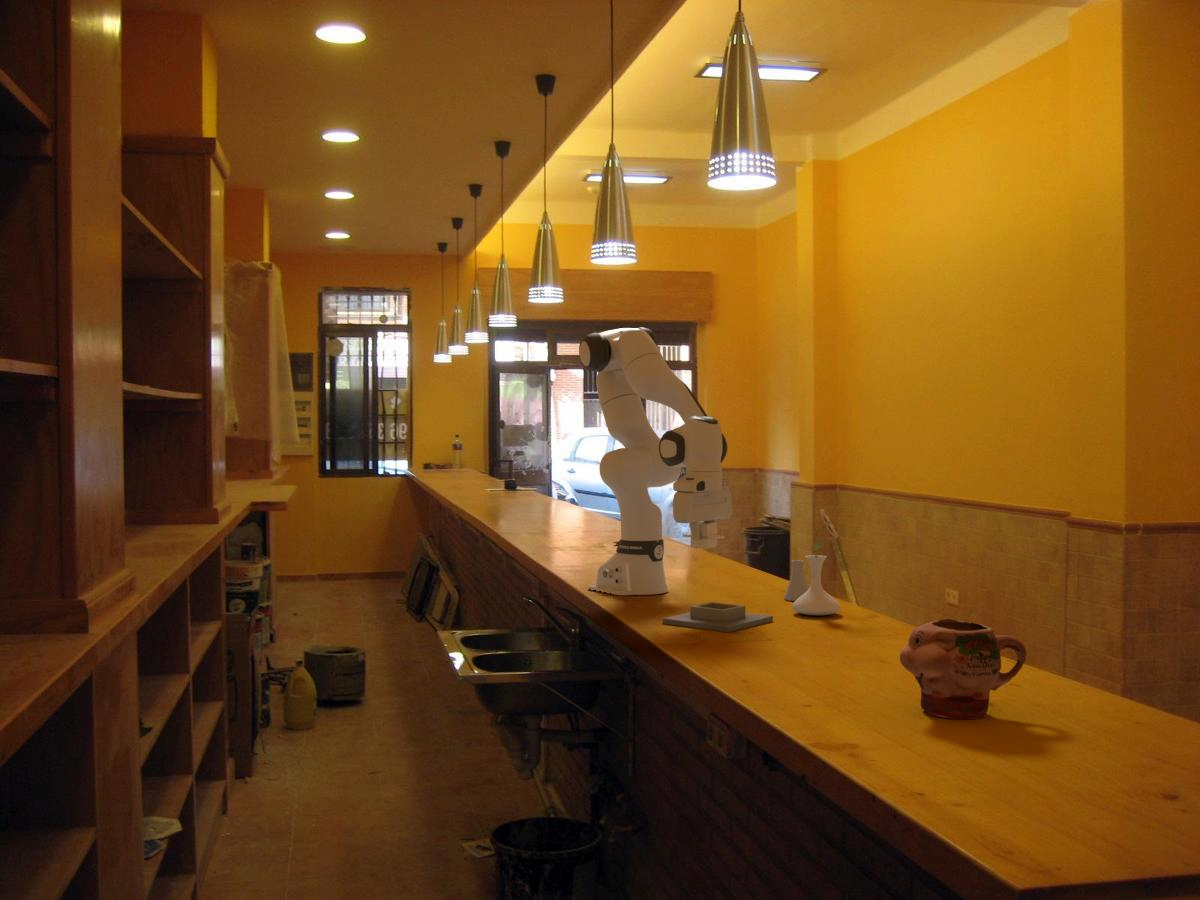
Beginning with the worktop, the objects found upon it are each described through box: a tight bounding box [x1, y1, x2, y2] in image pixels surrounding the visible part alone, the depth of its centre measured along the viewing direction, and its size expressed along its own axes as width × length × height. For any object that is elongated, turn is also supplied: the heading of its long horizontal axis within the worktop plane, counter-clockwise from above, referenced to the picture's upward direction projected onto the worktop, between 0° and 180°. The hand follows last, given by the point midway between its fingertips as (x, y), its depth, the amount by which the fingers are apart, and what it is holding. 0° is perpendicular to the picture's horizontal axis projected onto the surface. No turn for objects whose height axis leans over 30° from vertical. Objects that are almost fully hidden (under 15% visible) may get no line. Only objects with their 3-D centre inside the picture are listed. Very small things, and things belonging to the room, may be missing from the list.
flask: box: [783, 559, 809, 602], centre depth 293 cm, size 7×7×10 cm
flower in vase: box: [791, 508, 841, 616], centre depth 270 cm, size 13×11×25 cm
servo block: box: [683, 521, 725, 549], centre depth 279 cm, size 9×4×6 cm, turn 49°
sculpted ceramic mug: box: [899, 618, 1027, 720], centre depth 179 cm, size 20×12×14 cm, turn 99°
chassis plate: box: [662, 601, 774, 634], centre depth 260 cm, size 18×18×4 cm
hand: (703, 539), depth 279 cm, fingers closed on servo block, 4 cm apart
